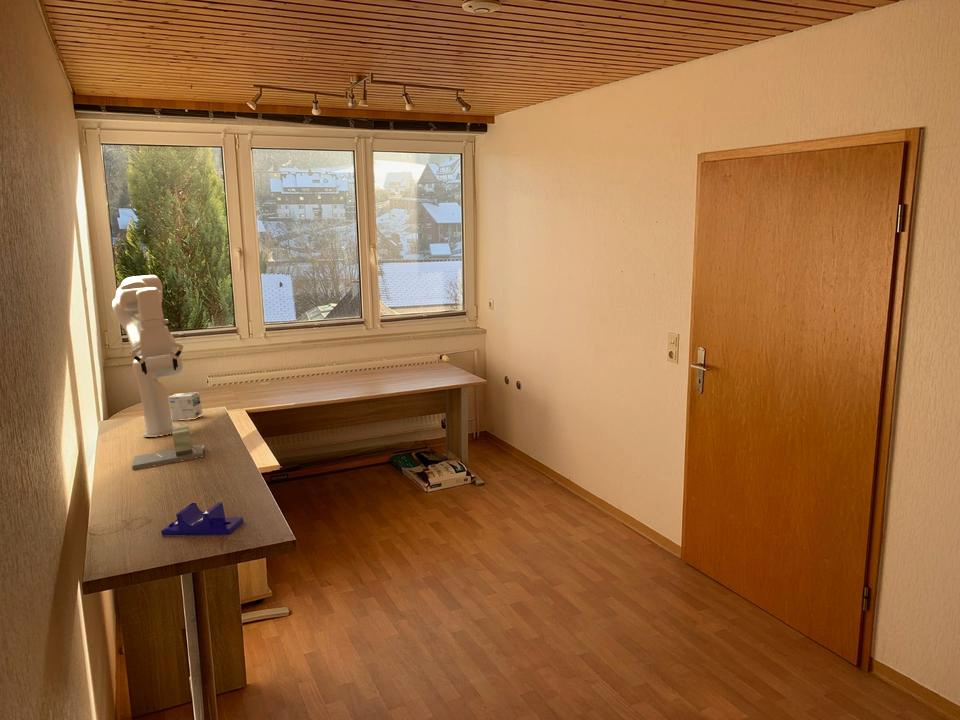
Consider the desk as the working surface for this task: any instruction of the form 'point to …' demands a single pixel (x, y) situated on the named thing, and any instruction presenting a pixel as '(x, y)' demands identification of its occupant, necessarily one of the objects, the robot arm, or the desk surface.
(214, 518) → the mounting bracket
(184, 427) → the block
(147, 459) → the board
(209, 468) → the desk surface
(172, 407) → the light bulb box
